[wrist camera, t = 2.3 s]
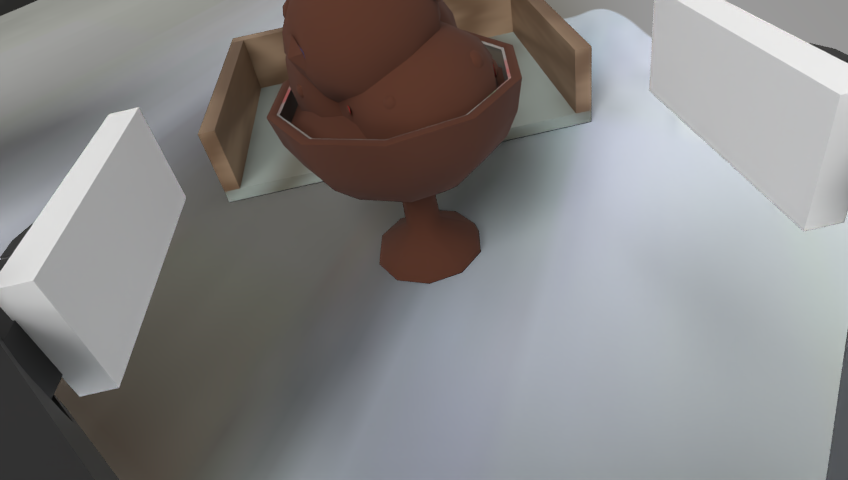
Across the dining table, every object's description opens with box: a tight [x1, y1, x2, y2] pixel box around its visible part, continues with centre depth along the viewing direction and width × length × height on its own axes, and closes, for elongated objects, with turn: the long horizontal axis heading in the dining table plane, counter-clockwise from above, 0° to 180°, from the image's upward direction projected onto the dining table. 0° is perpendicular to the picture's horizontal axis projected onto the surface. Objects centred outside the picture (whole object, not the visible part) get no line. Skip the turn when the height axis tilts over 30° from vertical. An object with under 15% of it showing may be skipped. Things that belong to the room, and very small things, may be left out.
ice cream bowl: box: [267, 0, 522, 284], centre depth 26 cm, size 11×11×15 cm
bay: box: [198, 0, 591, 202], centre depth 43 cm, size 24×17×5 cm
